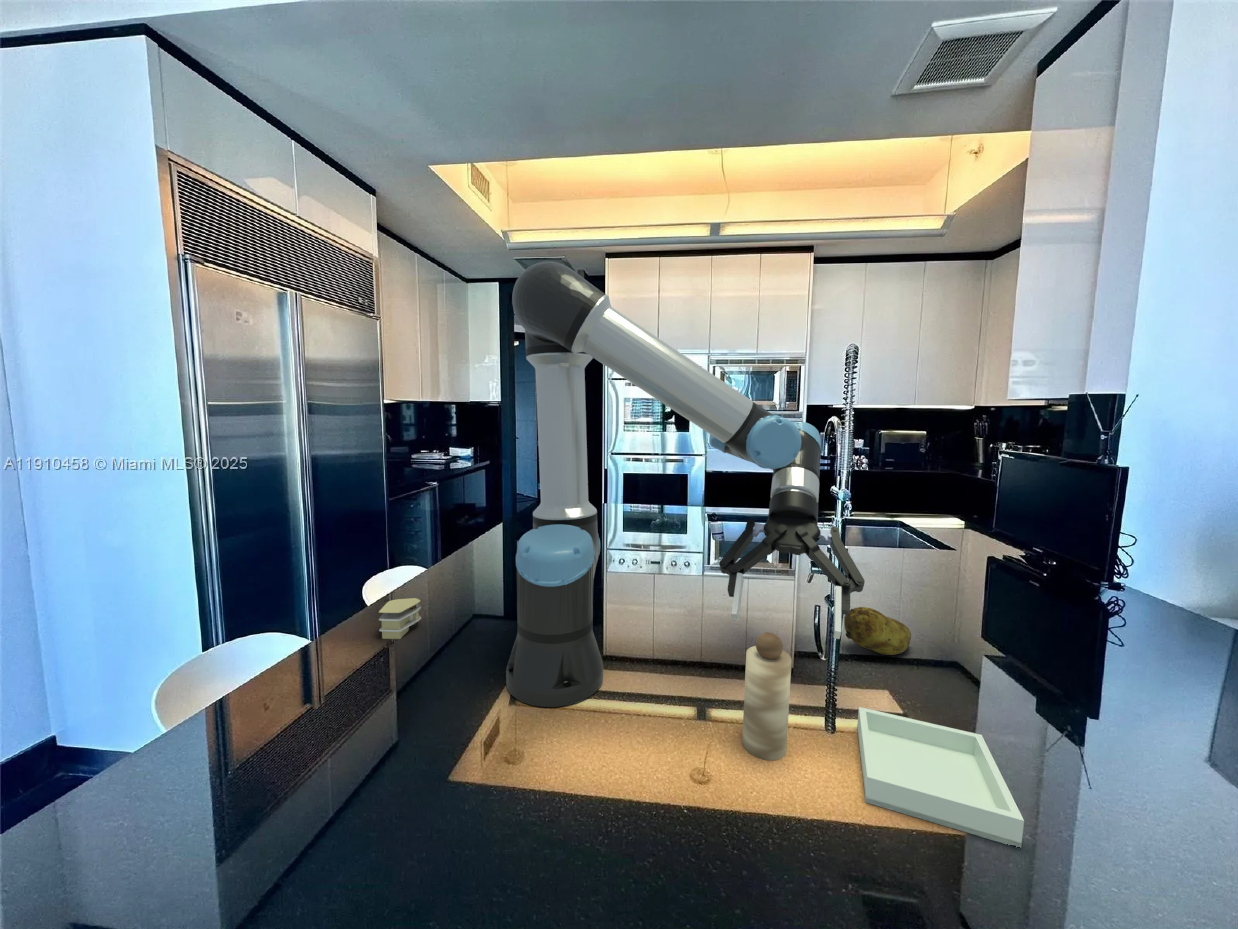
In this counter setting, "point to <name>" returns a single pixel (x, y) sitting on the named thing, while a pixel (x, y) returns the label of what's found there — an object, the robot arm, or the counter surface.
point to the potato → (876, 631)
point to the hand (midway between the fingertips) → (784, 626)
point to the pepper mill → (766, 698)
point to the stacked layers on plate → (399, 617)
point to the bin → (936, 776)
